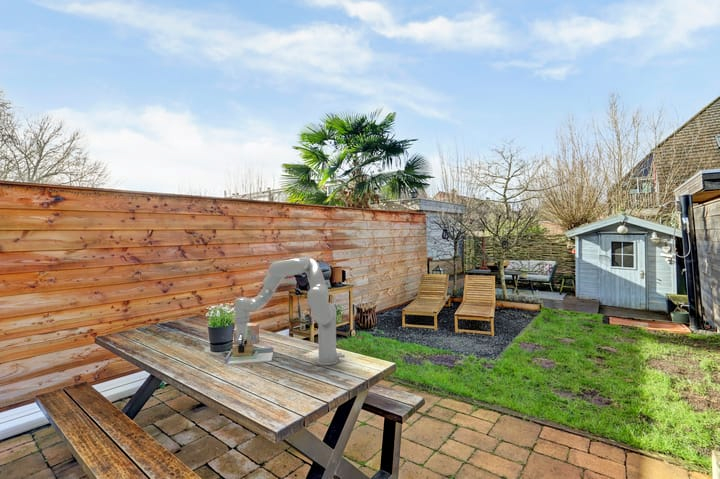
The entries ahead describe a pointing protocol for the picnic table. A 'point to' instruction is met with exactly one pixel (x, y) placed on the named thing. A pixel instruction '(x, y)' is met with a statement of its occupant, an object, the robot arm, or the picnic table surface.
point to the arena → (257, 356)
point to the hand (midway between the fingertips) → (242, 349)
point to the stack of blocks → (250, 334)
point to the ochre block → (247, 350)
